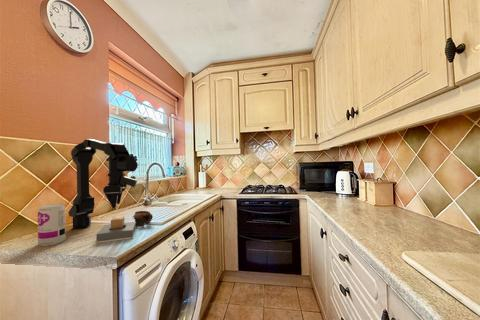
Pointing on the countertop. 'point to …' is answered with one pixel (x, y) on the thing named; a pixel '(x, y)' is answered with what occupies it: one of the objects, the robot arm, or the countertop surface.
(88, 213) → the robot arm
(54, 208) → the supplement can
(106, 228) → the charcoal well block
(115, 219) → the wooden toy block
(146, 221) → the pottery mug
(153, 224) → the countertop surface
